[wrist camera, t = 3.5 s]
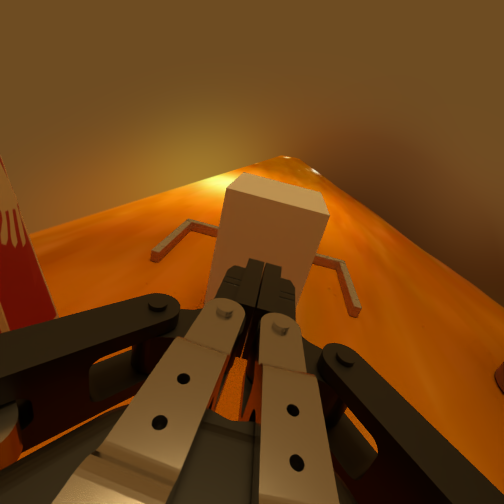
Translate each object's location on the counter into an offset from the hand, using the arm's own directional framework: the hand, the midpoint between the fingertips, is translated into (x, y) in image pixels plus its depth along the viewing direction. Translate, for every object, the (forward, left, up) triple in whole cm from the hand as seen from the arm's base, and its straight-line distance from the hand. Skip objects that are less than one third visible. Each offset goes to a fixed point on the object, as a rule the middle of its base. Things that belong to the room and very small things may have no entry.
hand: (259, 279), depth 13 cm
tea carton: (0, -14, -13) cm, 19 cm away
